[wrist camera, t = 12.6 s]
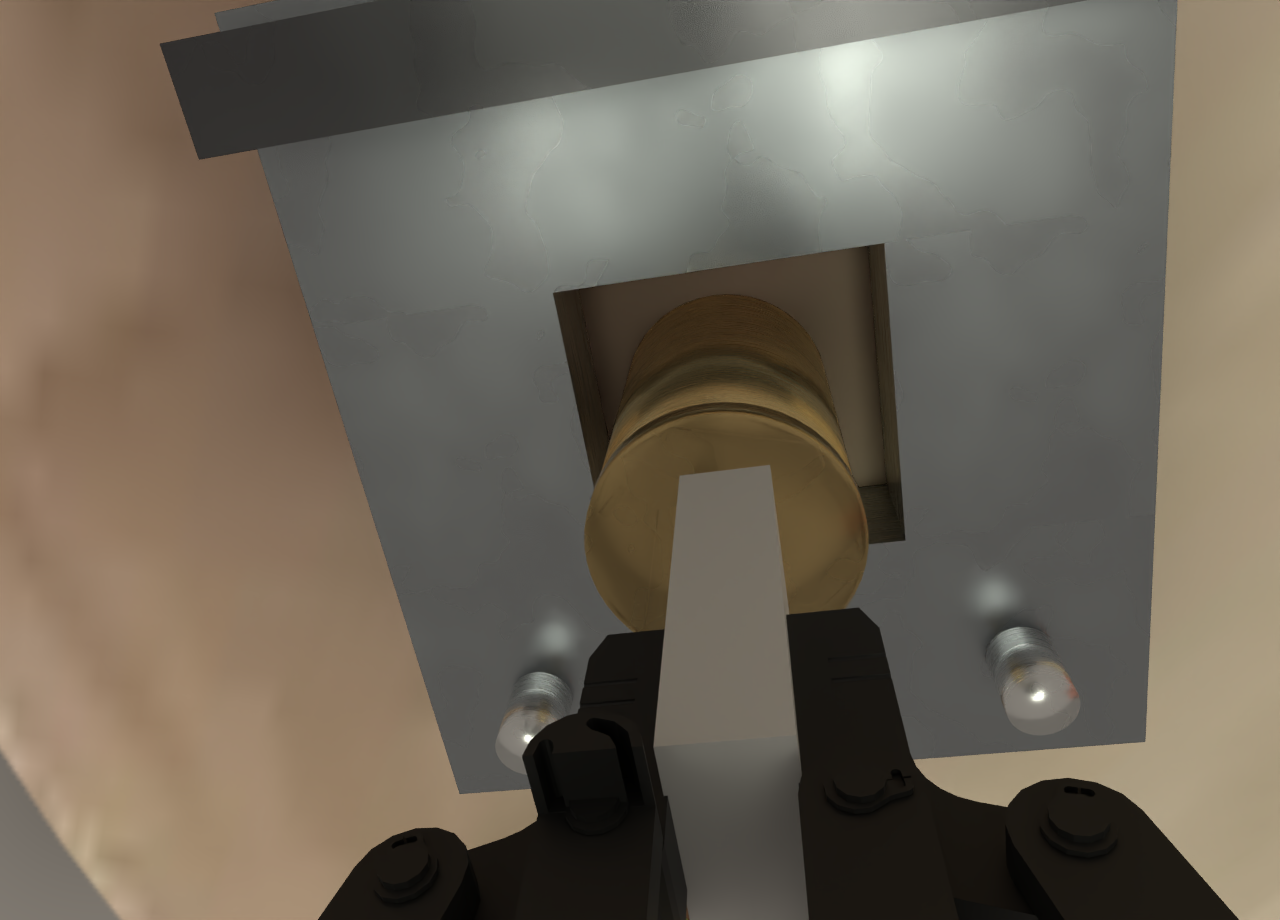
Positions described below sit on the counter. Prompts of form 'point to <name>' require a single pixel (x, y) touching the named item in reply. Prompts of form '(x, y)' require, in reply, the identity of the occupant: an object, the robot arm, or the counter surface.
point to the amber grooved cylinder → (725, 455)
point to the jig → (720, 237)
